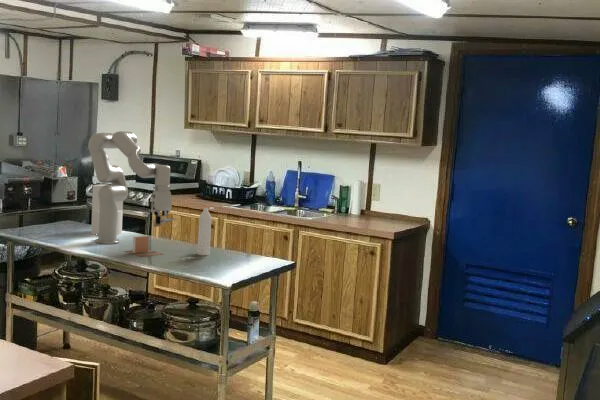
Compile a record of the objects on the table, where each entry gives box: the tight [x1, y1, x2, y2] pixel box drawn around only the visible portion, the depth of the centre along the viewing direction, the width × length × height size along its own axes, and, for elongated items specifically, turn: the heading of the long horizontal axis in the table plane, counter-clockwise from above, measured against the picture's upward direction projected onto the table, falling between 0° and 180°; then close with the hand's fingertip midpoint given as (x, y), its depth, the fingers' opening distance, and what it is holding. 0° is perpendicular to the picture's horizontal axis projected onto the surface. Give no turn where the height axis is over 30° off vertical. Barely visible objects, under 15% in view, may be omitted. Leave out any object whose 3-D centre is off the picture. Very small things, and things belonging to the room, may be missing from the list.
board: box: [123, 248, 165, 258], centre depth 320 cm, size 16×14×2 cm
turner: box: [151, 215, 175, 228], centre depth 331 cm, size 13×6×4 cm, turn 48°
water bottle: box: [196, 206, 215, 256], centre depth 331 cm, size 9×6×25 cm
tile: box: [132, 235, 150, 253], centre depth 321 cm, size 2×8×8 cm, turn 138°
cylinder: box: [90, 183, 124, 236], centre depth 372 cm, size 17×17×28 cm
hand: (160, 223), depth 332 cm, fingers closed on turner, 2 cm apart
